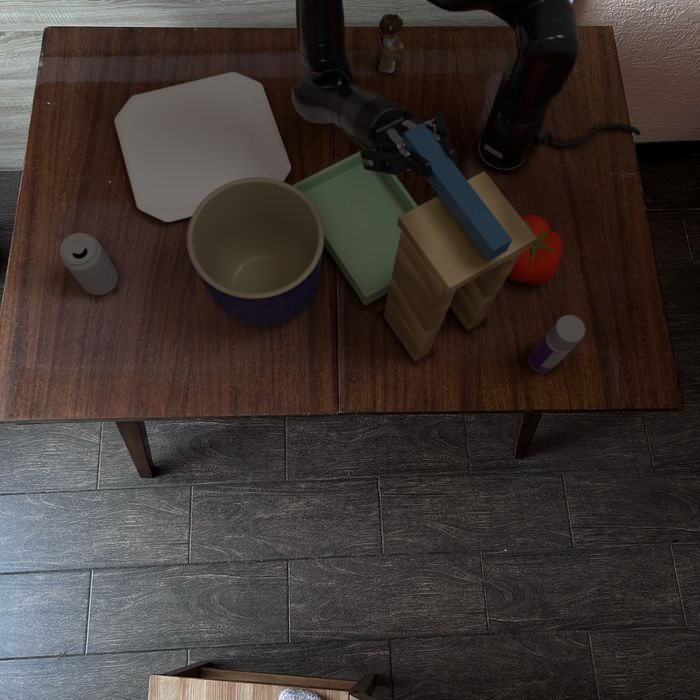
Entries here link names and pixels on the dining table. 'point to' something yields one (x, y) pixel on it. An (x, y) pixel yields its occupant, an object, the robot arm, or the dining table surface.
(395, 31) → the toy
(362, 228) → the tray
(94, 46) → the dining table surface
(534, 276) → the tomato
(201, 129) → the plate
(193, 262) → the planter
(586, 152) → the dining table surface
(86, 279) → the beverage can
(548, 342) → the container
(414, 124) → the robot arm
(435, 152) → the bar
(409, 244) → the shelf
